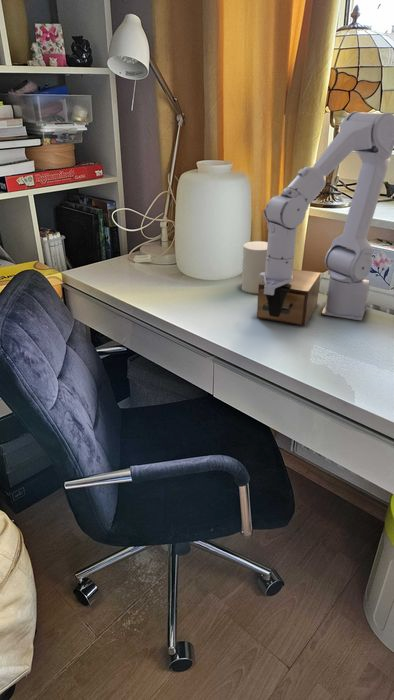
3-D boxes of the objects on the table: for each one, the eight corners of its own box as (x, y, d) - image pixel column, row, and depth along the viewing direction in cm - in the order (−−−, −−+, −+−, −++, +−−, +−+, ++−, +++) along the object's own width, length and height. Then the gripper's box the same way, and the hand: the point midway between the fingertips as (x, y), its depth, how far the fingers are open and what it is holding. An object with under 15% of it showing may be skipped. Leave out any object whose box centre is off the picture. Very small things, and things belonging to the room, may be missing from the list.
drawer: (296, 331, 106) (299, 303, 103) (252, 323, 110) (253, 296, 107) (312, 304, 119) (315, 278, 116) (272, 298, 123) (274, 273, 120)
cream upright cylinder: (270, 283, 135) (273, 241, 130) (271, 294, 128) (274, 250, 123) (242, 282, 136) (243, 241, 130) (241, 293, 129) (243, 249, 123)
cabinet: (304, 326, 111) (308, 291, 107) (256, 317, 115) (258, 284, 111) (316, 304, 122) (320, 272, 117) (272, 298, 126) (275, 266, 122)
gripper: (271, 245, 108) (266, 301, 114) (251, 262, 96) (247, 324, 102) (302, 249, 105) (295, 306, 111) (285, 266, 93) (279, 329, 99)
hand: (274, 315), depth 107 cm, fingers closed, pressing on drawer
